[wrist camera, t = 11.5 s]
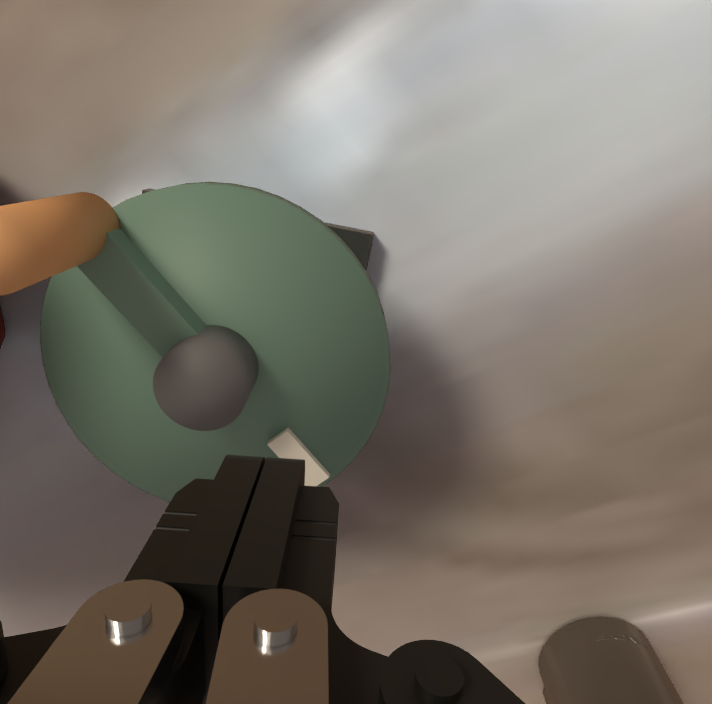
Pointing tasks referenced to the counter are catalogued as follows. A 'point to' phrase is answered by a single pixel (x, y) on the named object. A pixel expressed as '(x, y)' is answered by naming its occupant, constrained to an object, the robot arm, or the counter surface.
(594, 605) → the counter surface
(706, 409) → the counter surface
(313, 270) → the handwheel
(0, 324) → the plant pot
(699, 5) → the counter surface
